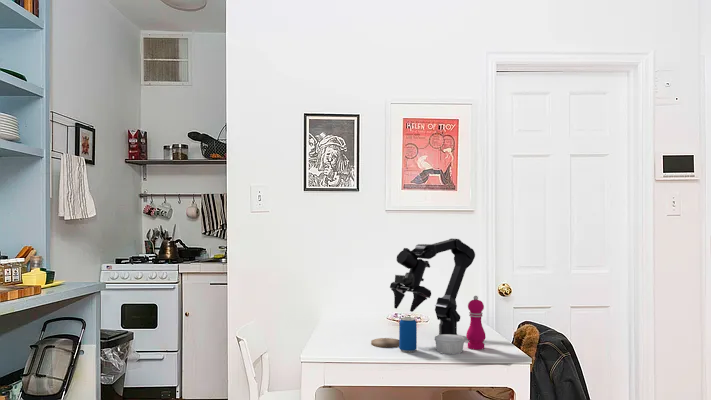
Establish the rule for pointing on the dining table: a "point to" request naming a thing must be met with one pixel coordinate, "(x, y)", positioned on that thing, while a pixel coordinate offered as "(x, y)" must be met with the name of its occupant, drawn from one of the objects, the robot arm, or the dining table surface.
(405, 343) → the beverage can
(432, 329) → the dining table surface
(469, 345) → the pepper mill
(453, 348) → the ramekin
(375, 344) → the walnut coaster
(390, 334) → the dining table surface
